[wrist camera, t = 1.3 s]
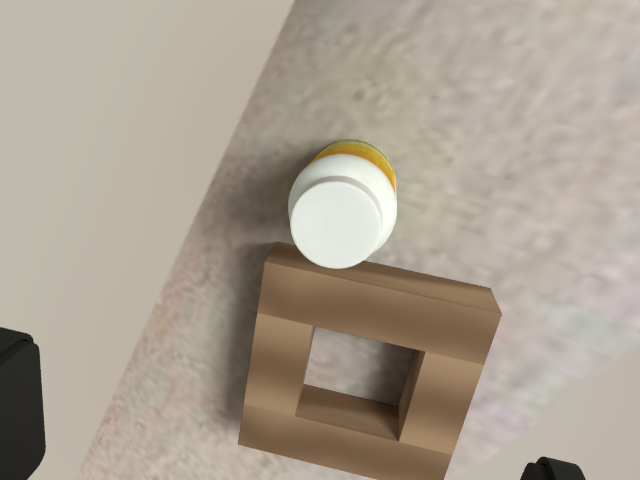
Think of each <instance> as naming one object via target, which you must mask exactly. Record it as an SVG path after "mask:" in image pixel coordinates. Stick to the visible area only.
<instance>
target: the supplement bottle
mask: <svg viewBox="0 0 640 480" xmlns="http://www.w3.org/2000/svg"><path fill="white" fill-rule="evenodd" d="M396 189H397V188H396V176H395V172H394V169H393V166H392V164H391V162H390V160H389V159H388V158H387V156H386V155H385V154H384V153H383V152H382V151H381V150H380V149H378V148H377V147H376V146H374V145H373V144H371V143H368V142H366V141H363V140H357V139H346V140H341V141H337V142H335V143H333V144H331V145H329V146H328V147H326V148H325V149H324V150H322V151H321V152H320V153H319V154H318V155H317V156H316V157H315V158H314V159H313V160H312V161H311V162H310V163H309V164H308V166H307V167H306V168H305V169H304V170H303V171H302V172H301V173H300V174H299V175H298V177H297V179H296V180H295V182H294V184H293V186H292V189H291V191H290V195H289V201H288V214H289V220H290V229H291V234H292V237H293V240H294V242H295V244H296V246H297V248H298V249H299V250H300V252H301V253H302V254H303V255H304V256H305V257H306V258H307V259H309V260H310V261H312V262H313V263H315V264H317V265H320V266H323V267H327V268H333V269H341V268H348V267H351V266H354V265H356V264H358V263H360V262H362V261H363V260H365V259H366V258H367V257H368V256H369V255H370V254H372V253H374V252H375V251H376V250H378V249H379V248H380V247H381V246H382V245H383V244H384V243H385V242H386V240H387V239H388V237H389V236H390V234H391V232H392V230H393V227H394V225H395V221H396V216H397V198H396Z"/></svg>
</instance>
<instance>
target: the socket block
mask: <svg viewBox="0 0 640 480" xmlns="http://www.w3.org/2000/svg"><path fill="white" fill-rule="evenodd" d="M501 315H502V313H501V311H500V309H499V307H498V304H497V302H496V300H495V298H494V296H493V293H492V291H491V289H490V288H486V287H482V286H477V285H473V284H468V283H463V282H459V281H454V280H450V279H445V278H441V277H436V276H431V275H427V274H422V273H418V272H413V271H409V270H404V269H399V268H395V267H390V266H386V265H381V264H377V263H372V262H367V261H362V262H360V263H358V264H356V265H354V266H351V267H348V268H341V269H333V268H327V267H323V266H320V265H317V264H315V263H313V262H312V261H310V260H309V259H307V258H306V257H305V256H304V255H303V254H302V253H301V252H300V250H299V249H298V248H297V246H294V245H290V244H285V243H280V242H278V243H277V244H276V246H275V247H274V249H273V250H272V252H271V253H270V254H269V256H268V257H267V259H266V260H265V263H264V270H263V277H262V284H261V291H260V297H259V304H258V311H257V318H256V324H255V331H254V338H253V345H252V351H251V358H250V365H249V372H248V378H247V385H246V392H245V399H244V405H243V412H242V419H241V426H240V432H239V439H238V445H242V446H246V447H250V448H254V449H258V450H262V451H266V452H270V453H274V454H278V455H282V456H286V457H290V458H294V459H298V460H302V461H306V462H310V463H314V464H318V465H322V466H326V467H330V468H334V469H338V470H342V471H346V472H350V473H354V474H357V475H361V476H365V477H369V478H373V479H377V480H444V477H445V474H446V471H447V468H448V466H449V463H450V460H451V457H452V454H453V451H454V449H455V446H456V443H457V440H458V437H459V434H460V431H461V429H462V426H463V423H464V420H465V417H466V414H467V412H468V409H469V406H470V403H471V400H472V397H473V395H474V392H475V389H476V386H477V383H478V380H479V378H480V375H481V372H482V369H483V366H484V363H485V361H486V358H487V355H488V352H489V349H490V346H491V344H492V341H493V338H494V335H495V332H496V329H497V327H498V324H499V321H500V318H501ZM315 326H316V327H321V328H325V329H329V330H334V331H338V332H342V333H347V334H351V335H355V336H360V337H364V338H369V339H373V340H377V341H382V342H386V343H390V344H395V345H399V346H403V347H408V348H412V349H415V350H414V354H413V357H412V361H411V364H410V368H409V371H408V375H407V378H406V381H405V385H404V388H403V392H402V395H401V399H400V402H399V406H398V407H397V406H392V405H388V404H384V403H380V402H376V401H372V400H367V399H363V398H359V397H355V396H351V395H347V394H342V393H338V392H334V391H330V390H326V389H321V388H317V387H313V386H309V385H305V384H304V380H305V375H306V370H307V365H308V360H309V355H310V350H311V345H312V340H313V335H314V330H315Z"/></svg>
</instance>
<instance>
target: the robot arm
mask: <svg viewBox="0 0 640 480" xmlns="http://www.w3.org/2000/svg"><path fill="white" fill-rule="evenodd" d="M45 448H46V445H45V430H44V414H43V400H42V384H41V369H40V353H39V347H38V345H36V344H34V342H33V338H32V337H31V335H29V334H27V333H23V332H19V331H14V330H9V329H5V328H2V327H1V328H0V480H27V479H28V478H29V477H30V475H31V474H32V473H33V472H34V471H35V470H36V469H37V467H38V466H39V465H40V463H41V461H42V459H43V456H44V454H45ZM520 480H586V479H585V477H584V475H583V473H582V471H581V469H580V468H579V466H577V465H576V464H572V463H569V462H564V461H560V460H556V459H551V458H547V457H541V458H539V459H538V461H537V462H536V463H528V464H527V466H526V467H525V470H524V472H523V474H522V477H521V479H520Z"/></svg>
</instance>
